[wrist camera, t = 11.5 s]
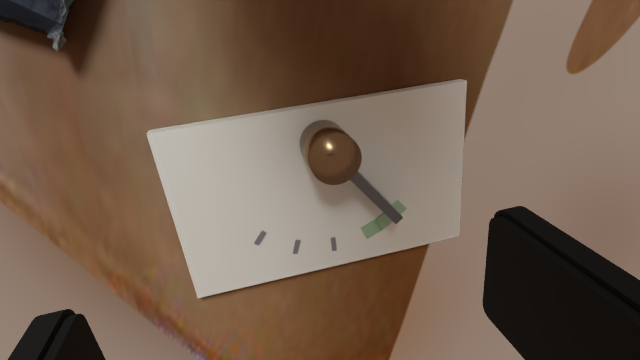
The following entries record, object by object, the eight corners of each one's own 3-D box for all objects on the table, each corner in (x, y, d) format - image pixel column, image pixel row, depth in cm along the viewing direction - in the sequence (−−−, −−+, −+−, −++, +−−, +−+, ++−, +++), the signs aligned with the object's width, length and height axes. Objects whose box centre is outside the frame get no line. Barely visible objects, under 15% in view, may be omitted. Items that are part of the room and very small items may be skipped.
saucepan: (289, 143, 35) (299, 162, 31) (323, 109, 35) (338, 123, 30) (372, 221, 41) (391, 246, 36) (403, 193, 40) (425, 215, 36)
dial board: (148, 130, 34) (146, 134, 32) (460, 78, 38) (467, 80, 37) (198, 290, 41) (197, 299, 40) (454, 231, 46) (460, 237, 45)
